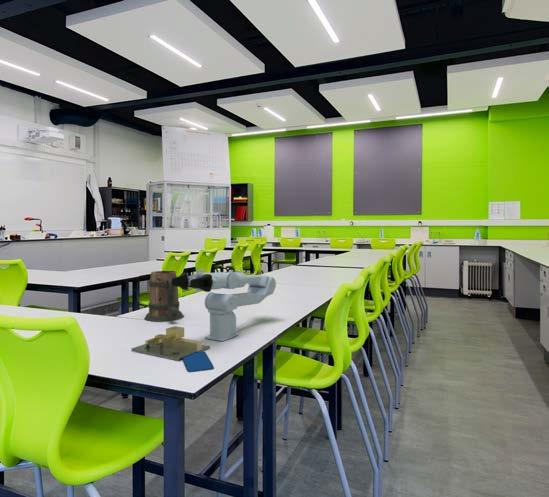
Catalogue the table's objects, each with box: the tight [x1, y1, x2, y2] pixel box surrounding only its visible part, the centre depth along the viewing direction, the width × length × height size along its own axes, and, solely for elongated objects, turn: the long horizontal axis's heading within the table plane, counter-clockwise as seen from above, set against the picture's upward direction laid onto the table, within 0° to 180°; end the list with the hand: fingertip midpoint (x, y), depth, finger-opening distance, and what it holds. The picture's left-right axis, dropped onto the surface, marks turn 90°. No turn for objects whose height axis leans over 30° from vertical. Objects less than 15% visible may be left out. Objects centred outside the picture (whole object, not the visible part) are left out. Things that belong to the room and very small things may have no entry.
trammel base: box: [130, 333, 211, 362], centre depth 127 cm, size 14×20×3 cm
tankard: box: [143, 270, 185, 323], centre depth 170 cm, size 24×17×20 cm
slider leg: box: [159, 325, 185, 350], centre depth 127 cm, size 8×4×5 cm, turn 150°
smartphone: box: [181, 351, 215, 373], centre depth 115 cm, size 7×1×15 cm
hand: (181, 282), depth 123 cm, fingers open, 7 cm apart
